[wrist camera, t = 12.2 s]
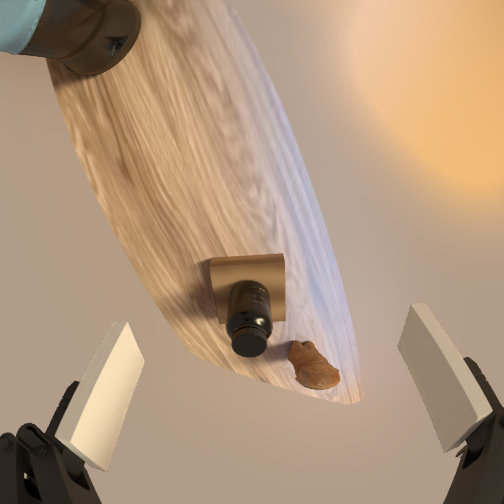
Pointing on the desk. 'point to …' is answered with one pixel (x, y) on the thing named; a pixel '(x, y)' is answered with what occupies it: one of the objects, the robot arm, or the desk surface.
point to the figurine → (312, 367)
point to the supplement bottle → (249, 318)
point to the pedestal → (249, 268)
